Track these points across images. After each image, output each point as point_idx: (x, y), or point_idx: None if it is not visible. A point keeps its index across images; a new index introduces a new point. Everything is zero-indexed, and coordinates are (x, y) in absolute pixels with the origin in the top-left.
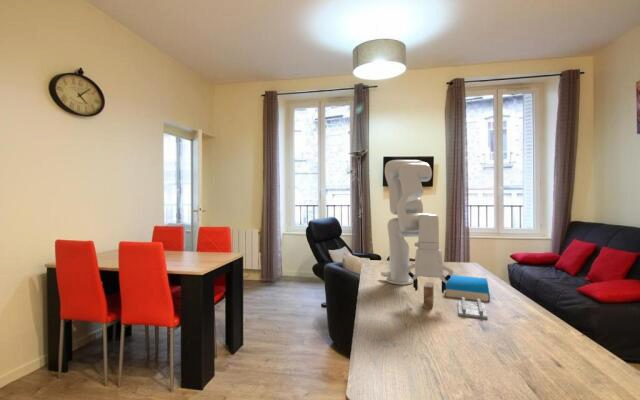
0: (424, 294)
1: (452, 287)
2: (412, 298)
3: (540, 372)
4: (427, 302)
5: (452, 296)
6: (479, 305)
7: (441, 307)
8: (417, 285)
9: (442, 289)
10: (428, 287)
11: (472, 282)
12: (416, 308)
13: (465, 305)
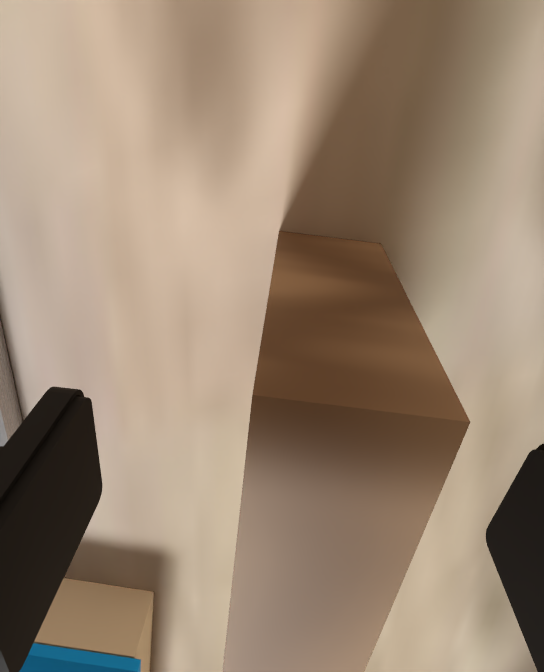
0: (407, 325)
1: None
2: (452, 506)
3: None
4: (341, 265)
5: (99, 586)
6: None
7: (173, 318)
8: (524, 575)
9: (40, 429)
10: (343, 411)
11: None
12: (479, 209)
13: None
